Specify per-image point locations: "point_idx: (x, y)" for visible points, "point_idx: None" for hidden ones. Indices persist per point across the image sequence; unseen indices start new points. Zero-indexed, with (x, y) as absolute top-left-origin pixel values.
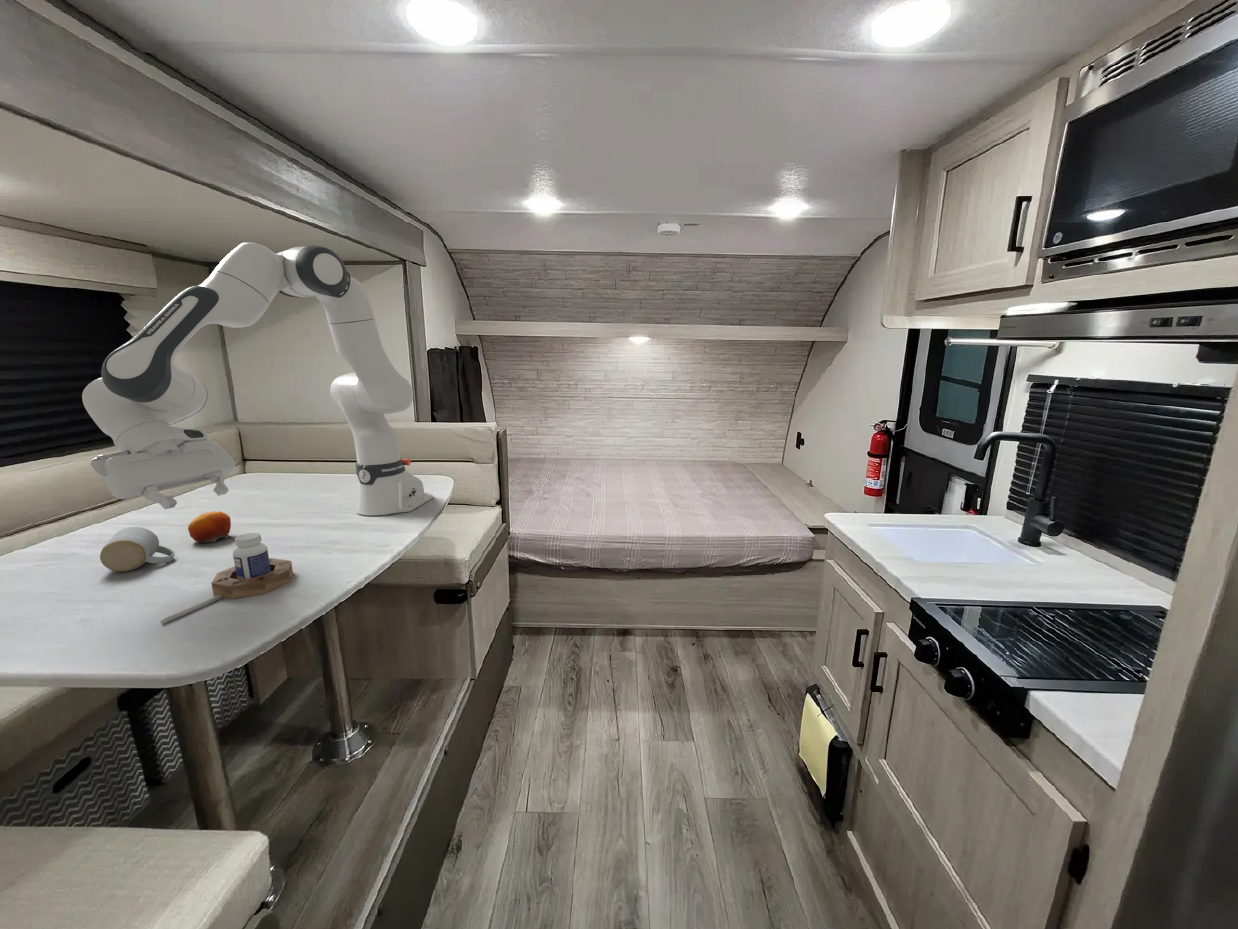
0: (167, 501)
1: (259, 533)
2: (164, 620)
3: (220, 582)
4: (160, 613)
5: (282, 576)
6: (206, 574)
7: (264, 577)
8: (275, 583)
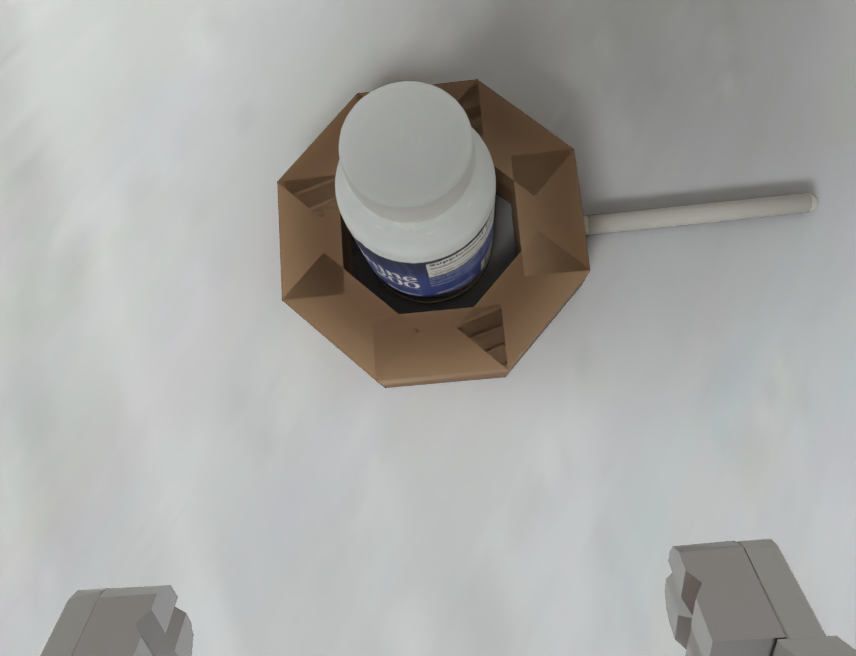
0: (776, 564)
1: (341, 129)
2: (810, 193)
3: (567, 238)
4: (768, 317)
5: None
6: (455, 573)
7: None
8: None
